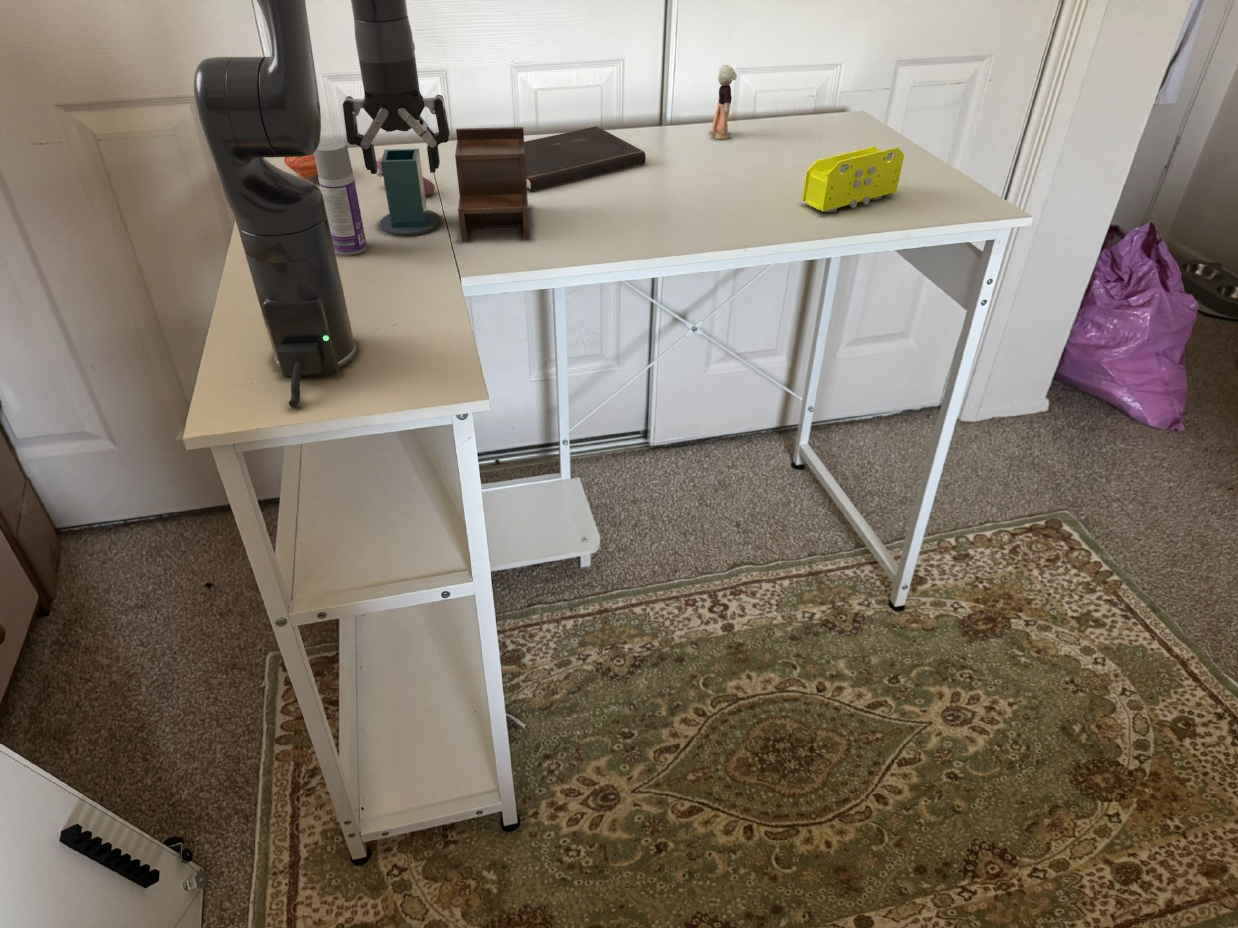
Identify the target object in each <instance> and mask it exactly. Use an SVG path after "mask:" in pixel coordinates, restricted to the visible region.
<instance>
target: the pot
mask: <svg viewBox="0 0 1238 928" xmlns="http://www.w3.org/2000/svg"><path fill="white" fill-rule="evenodd" d="M283 162H284V164H285V165H286V166H287V168H289V169H290V170H292V171H293V172H294V173H296V174H298V175H299V177H301V178H304V179H306V180H309V177H312V176H314V177H315V176H318V172H317V167H316V162H315V156H314V153H313V154H312V155H310V156H304V157H283Z"/></svg>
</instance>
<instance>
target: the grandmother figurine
mask: <svg viewBox="0 0 1238 928" xmlns="http://www.w3.org/2000/svg"><path fill="white" fill-rule="evenodd" d="M718 74H719V75H718V77H717V80H718V83H719V85H720V86H719V89H718V101H717V106H716V110H715V113H714V118H713V121H712V124H711V125H712V126H711V131H710V132H711V134H713V135H714V139H716V140H728V139H730V135H729V134H728V131H729V127H728V118H729V115H730V111H731V103H732V87H731V84H732V82H733V81H736V79H738V78H737V75H738V74H737V73H736V71H735V69H734V68H733V67H732V66H731V65H729V64H722V65H720V67H719V70H718Z"/></svg>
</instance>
